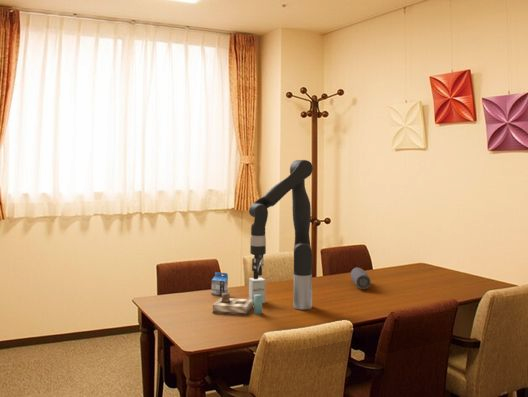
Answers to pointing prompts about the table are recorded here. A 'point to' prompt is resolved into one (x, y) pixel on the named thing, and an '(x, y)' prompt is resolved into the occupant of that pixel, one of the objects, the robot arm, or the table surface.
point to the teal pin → (258, 304)
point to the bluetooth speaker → (360, 278)
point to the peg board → (232, 305)
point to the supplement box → (257, 288)
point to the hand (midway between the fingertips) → (257, 277)
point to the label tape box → (220, 284)
